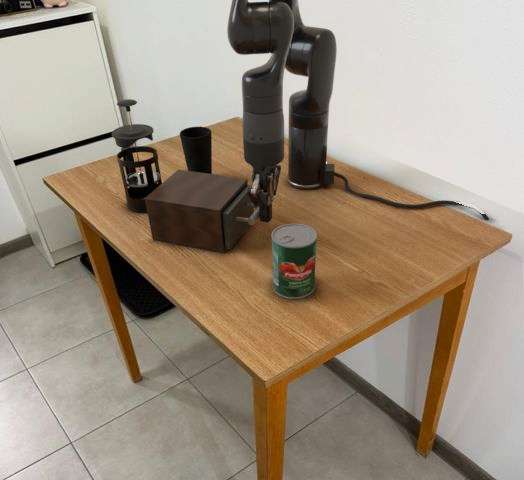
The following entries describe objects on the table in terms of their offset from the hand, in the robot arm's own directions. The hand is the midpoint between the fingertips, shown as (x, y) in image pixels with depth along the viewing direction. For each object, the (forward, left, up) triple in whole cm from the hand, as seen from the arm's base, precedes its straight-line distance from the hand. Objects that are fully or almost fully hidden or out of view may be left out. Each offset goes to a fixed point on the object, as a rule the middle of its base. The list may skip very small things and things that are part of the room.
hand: (265, 220), depth 103 cm
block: (+10, -3, -3) cm, 11 cm away
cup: (+20, -29, -5) cm, 35 cm away
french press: (+31, -16, -5) cm, 35 cm away
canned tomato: (-6, +16, -5) cm, 18 cm away
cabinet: (+15, -4, -5) cm, 16 cm away
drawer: (+11, -3, -4) cm, 12 cm away
